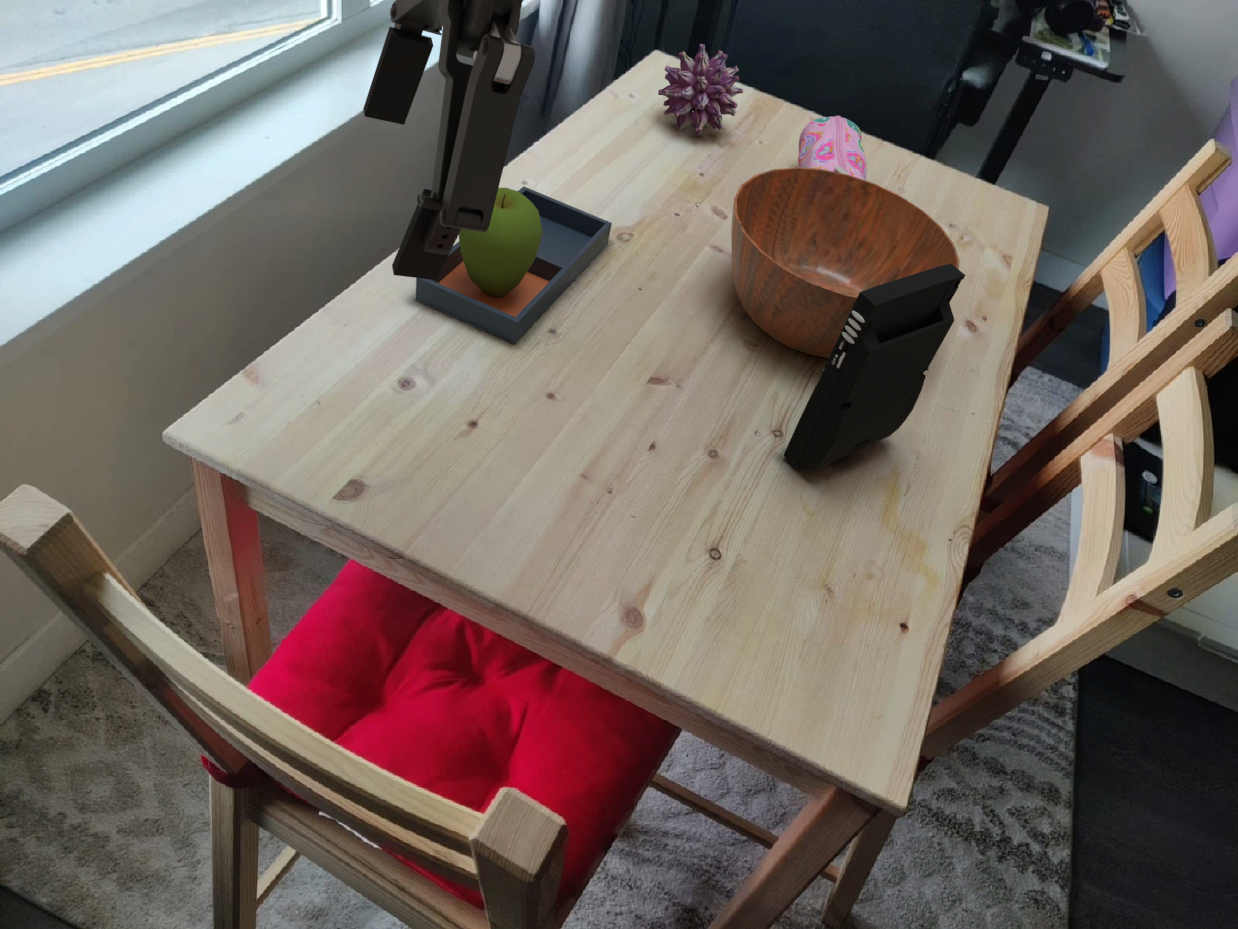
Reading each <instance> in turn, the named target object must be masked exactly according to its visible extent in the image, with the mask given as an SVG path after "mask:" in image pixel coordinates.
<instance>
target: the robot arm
mask: <svg viewBox="0 0 1238 929" xmlns="http://www.w3.org/2000/svg"><path fill="white" fill-rule="evenodd" d="M523 2H524V0H395V1H393V2H392V4H391V7H390V9H389V16H390V21H391V23H393V24H394V25H393V26H389V27H388V30H387V34H386V37H385V40H384V43H383V46H382V49H381V52H380V54H379V59H378V62H377V65H376V67H375V71H374V73H373V76H372V77H373V78H372V80H371V83H370V86H369V90H368V93H367V96H366V98H365V102H364V105H363V108H362V109H363V115H364V117H365V118H369V119H374V120H379V121H383V122H389V123H394V124H398V125H403V126H404V125H405V124H406V121H407V119H408V115H409V113H410V110H411V107H412V105H413V101H414V99H415V96H416V94H417V91H418V88H419V86H420V83H421V81H422V79H423V78H422V77H423V75H424V73H425V69H426V67H427V64H428V61H429V59H430V57H431V53H432V51H433V49H434V42H433V37H431V36H426V35H423V32H427V33H430V34H435V35H438V36H441V40H440V47H439V56H438V62H437V64H438V68H437V69H438V71H439V73H440V74H441V76H443V78H444V82H445V83H444V90H443V96H442V106H441V113H440V121H439V128H438V135H437V136H438V137H437V146H436V152H435V161H434V169H433V176H432V184H431V189H428V188H423V190H422V193H421V194H417V196H416V197H417V198H416V200H417V205H416V207H415V210H414V212H413V214H412V217H411V219H410V222H409V224H408V226H407V228H406V231H405V233H404V236H403V237H402V240H401V243H400V245H399V248H398V250H397V252H396V255H395V257H394V260H393V262H392V264H391V268H392V273H393V276H398V277H406V278H413V279H414V278H415V279H416V278H422V279H430V280H437V278H438V276H439V274H440V272H441V270H442V268H443V266H444V264H445V262H446V260H447V257H448V255H449V253H450V251H451V249H452V247H453V246H454V245H455V244H456V243H455V242H456V241H457V239H458V238H459V233H460V230H461V229H465V230H472V231H478V232H484V233H485V232H487V230H488V228H489V225H490V221H491V216H492V212H493V208H494V204H495V200H496V196H497V192H498V188H500V184H501V179H502V175H503V171H504V167H505V163H506V158H507V154H508V150H509V146H510V141H511V139H512V134H513V130H514V126H515V122H516V118H517V114H518V108H519V107H520V106H519V105H520V101H521V98H522V95H523V92H524V89H525V88H526V85H527V82H528V80H529V78H530V74H531V72H532V70H533V68H534V65H535V61H536V51H535V48H534V47H533V46H531V45H527V44H524V43H521V42H518V41H517V39H516V37H515V36H516V35H517V34H518V31H519V27H520V20H521V10H522V7H523V5H522V4H523ZM458 56H462V57H465V58H469V59H472V62H473V65H472V64H469V63H465V62H461V61H459V59H458Z"/></svg>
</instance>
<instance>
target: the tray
mask: <svg viewBox="0 0 1238 929" xmlns="http://www.w3.org/2000/svg"><path fill="white" fill-rule="evenodd" d="M517 191H518V192H519V193H521V194H522V195H524V196H525V197H526V198H528V199H529V200H530V201H531V202H532V203H533V204H534V206H535V207H536V208H537V210H538V212H539V216H540V221H541V226H542V231H543V235H542V238H541V242H540V245H539V249H538V252H537V255H536V257H535V259H534V262H533V264H532V265H531V267H530V268H529V270H528V271H527V273H526V274H525V276H524V277H523V279H522V281H521V282H520V284H519V285H518V286H516V287H515V288H514V289H513V290H511V291H510V292H509V293H507V294H506V295H504V296H502V297H492V296H490V295H487V294H486V293H484V292H483V291H482V290H481V289H480V288H479V287H478V286H476V285H475V284H474V283H473V282H472V280H471V279H470V278H469V276H468V273H467V270H466V267H465V264H464V261H463V258H462V255H461V251H460V244H459V241H457V242H456V243H454V245H453V247H452V249H451V251H450V253H449V255H448V257H447V260H446V262H445V264H444V266H443V268H442V270H441V272H440V274H439V276H438V278H437V280H430V279H422V278H415V301H417V302H418V303H421V304H423V305H425V306H427V307H430V308H432V309H434V310H436V311H439V312H441V313H443V314H445V315H448V316H450V317H452V318H454V319H457V320H458V321H461V322H463V323H465V324H467V325H470V326H472V327H474V328H477V329H479V330H480V331H484V332H485V333H487V334H490V335H492V336H494V337H497V338H498V339H501V340H503V341H506V342H508V343H510V344H512V345H516V344H517V343H518V342H519V340H520V339H522V337H523V336H524V335H525V334H526V333H527V332H528V331H529V330H530V328H532V327H533V326H534V325H535V323H537V321H538V320H539V319H540V318H541V317H542V316H543V314H545V313H546V312H547V310H548V309H549V308H550V307H551V306H552V305H553V304H555V303H554V302H555V301H557V300H558V298H559V297H560V296H561V295H562V294H563V293H564V292H565V291H566V290H567V289H568V288H569V286H571V285H572V283H573V282H574V281H575V280H576V279H577V278H578V277H579V276H580V275H581V274H582V273H583V272H584V270H585V269H586V268H587V267H588V266H589V265H590V264H591V263H592V261H593V260H594V259H595V258H597V256H598V255H599V254H600V253H601V252H602V251H603V250H604V249H605V248H606V247H607V246H608V244H609V239H610V234H611V230H612V225H613V223H612V222H611V221H608V220H605V219H604V218H601V217H598V216H596V215H594V214H591V213H589V212H586V211H584V210H582V209H579V208H577V207H575V206H572V205H571V204H567V203H565V202H562V201H560V200H558V199H556V198H553V197H550V196H548V195H547V194H544V193H542V192H538V191H536V190H534V189H531V188H529V187H527V186H522V187H521V188H519V190H517Z"/></svg>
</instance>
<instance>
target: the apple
mask: <svg viewBox="0 0 1238 929" xmlns="http://www.w3.org/2000/svg"><path fill="white" fill-rule="evenodd" d="M518 191H519V190H515V189H512V188H509V187H499V188H498V192H497V196H496V200H495V204H494V208H493V212H492V216H491V221H490V225H489V228H488V230H487V232H485V233H484V232H478V231H472V230H465V229H461V230H460V233H459V235H458V242H459V244H460V251H461V255H462V258H463V261H464V264H465V267H466V270H467V273H468V276H469V278H470V279H471V280H472V282H473V283H474V284H475V285H476V286H478V287H479V288H480V289H481V290H482V291H483V292H484V293H486V294H487V295H490V296H492V297H502V296H504V295H506V294H507V293H509V292H510V291H511V290H513V289H514V288H515V287H516V286H518V285H519V284H520V282H521V281H522V279H523V277H524V276H525V274H526V273H527V271H528V270H529V268H530V267H531V265H532V264H533V262H534V259H535V257H536V255H537V252H538V249H539V245H540V242H541V238H542V235H543V231H542V226H541V221H540V216H539V212H538V210H537V208H536V207H535V206H534V204H533V203H532V202H531V201H530V200H529V199H528V198H526V197H525V196H524V195H522V194H521V193H519V192H518Z"/></svg>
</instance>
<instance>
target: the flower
mask: <svg viewBox="0 0 1238 929" xmlns="http://www.w3.org/2000/svg"><path fill="white" fill-rule="evenodd" d="M678 57H679V59H680V60H679V67H675V66H673V67H671V66H669V65H666V66H665V68H664V72H666V73H665V75H664V79H665V80H667V82H668V83H669V85H666V86H665V87H663V88H662V89H658V91H657V95H658V96H664V97H666V100H664V101H663V104H662V105H663V107H668V108H667V109H666V110H664V111H663V114H664V117H667V116H669V115H674V117H676V122H675V123H674V126H675V128H677V129H678V130H680V131H681V130H683V128H684V127H686V126H687V125H689V124H690V123H692V127H693V129H694V133H695V136H697V137H699V136H701V133H702V131H703V128H704V127H705V125H706V124H708V125H709V126H710V127H712V129H713V130H714V131H716V130H717V131H719V132H721V131H722V130H723V129H724V125H723V115H726V116H727V115H730V116H732V117H734V116H736V114H737V110H736V109H737V108H738V102H737V101H734V97H735V96H736V95H738V94H743V93H744V88H742V87H741V88H740V87H738V86H736V85H735V83H737V82H738V81H739V80H740V77H739V75H735V74H736V73H738V72H739V67H738V65H735V66H733V67H726V66H727V65H726V61H727V58H728V54H725V52H723V50H720V49H719V50H718V51H717V53H716V54H715V55H714V56H713V57H711V58H710V59H709V55H708V52H707V51H706V46H705V44H703V43H700V44H699V48H698V52H697V53H696V55H695V56H694V59H693V58H692V57H689V56H688V55H687V54H686V52H685V51H681V52H679V53H678Z"/></svg>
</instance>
